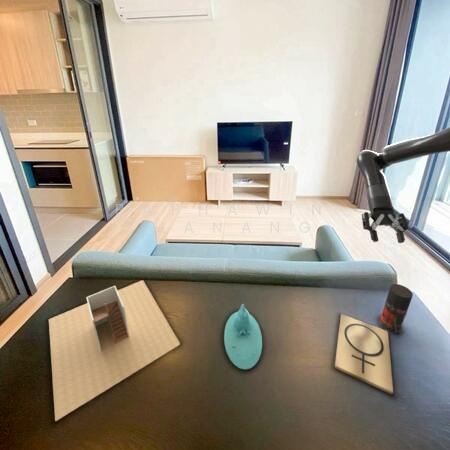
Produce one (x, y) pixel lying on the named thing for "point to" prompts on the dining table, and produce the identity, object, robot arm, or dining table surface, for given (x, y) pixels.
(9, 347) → the dining table surface
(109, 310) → the staircase
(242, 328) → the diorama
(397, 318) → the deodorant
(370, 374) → the sketch board
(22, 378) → the dining table surface
